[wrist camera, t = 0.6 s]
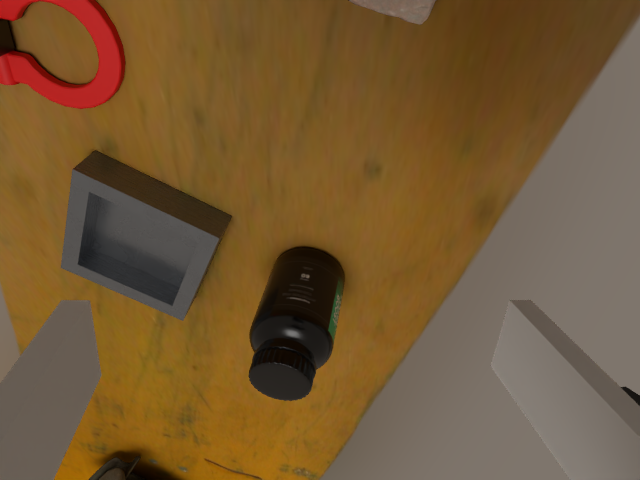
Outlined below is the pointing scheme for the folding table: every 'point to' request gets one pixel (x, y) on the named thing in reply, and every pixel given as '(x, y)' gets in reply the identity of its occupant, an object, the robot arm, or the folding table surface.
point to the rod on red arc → (15, 67)
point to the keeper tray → (139, 235)
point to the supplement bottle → (295, 323)
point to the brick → (400, 8)
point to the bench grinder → (117, 470)
